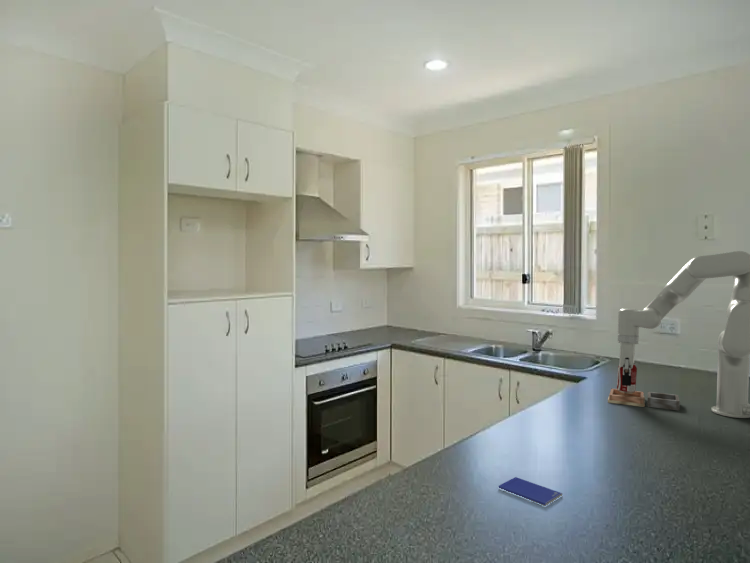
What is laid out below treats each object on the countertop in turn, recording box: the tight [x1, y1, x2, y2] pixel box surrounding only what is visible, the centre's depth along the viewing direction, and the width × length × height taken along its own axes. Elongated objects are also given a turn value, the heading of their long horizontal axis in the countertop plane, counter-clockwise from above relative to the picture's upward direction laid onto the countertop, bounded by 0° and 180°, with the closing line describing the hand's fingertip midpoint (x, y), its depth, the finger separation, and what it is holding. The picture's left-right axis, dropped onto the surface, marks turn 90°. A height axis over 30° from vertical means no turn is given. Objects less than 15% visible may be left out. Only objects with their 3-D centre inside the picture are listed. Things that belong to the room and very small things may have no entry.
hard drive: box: [498, 476, 563, 506], centre depth 122 cm, size 2×8×12 cm
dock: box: [607, 388, 681, 411], centre depth 202 cm, size 25×13×4 cm, turn 62°
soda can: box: [616, 362, 638, 394], centre depth 205 cm, size 7×7×12 cm
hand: (626, 383), depth 205 cm, fingers closed on soda can, 6 cm apart
